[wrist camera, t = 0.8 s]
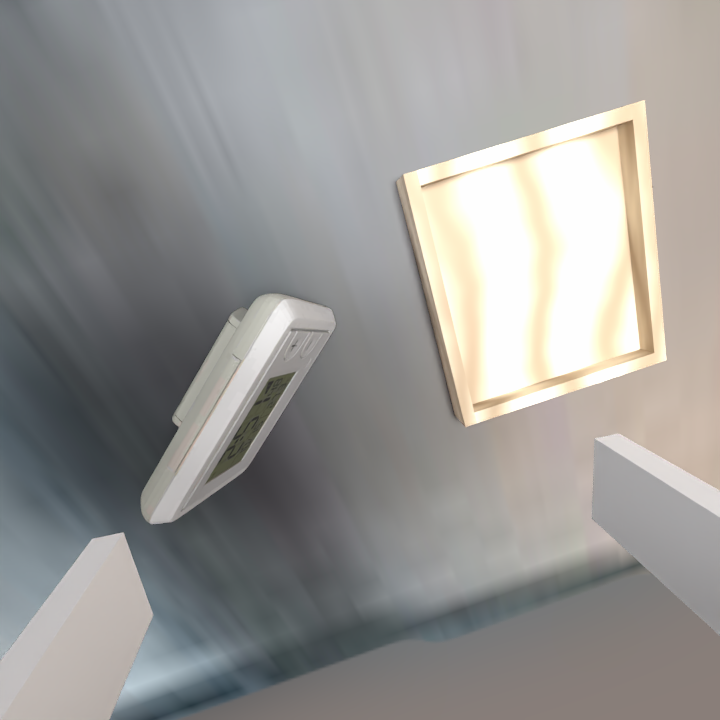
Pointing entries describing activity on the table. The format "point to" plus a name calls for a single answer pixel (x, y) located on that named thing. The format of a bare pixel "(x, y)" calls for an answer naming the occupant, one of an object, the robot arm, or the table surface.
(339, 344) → the table surface
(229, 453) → the digital clock
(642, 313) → the birch tray
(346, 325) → the table surface
